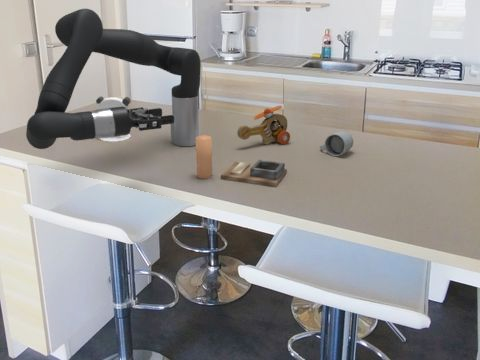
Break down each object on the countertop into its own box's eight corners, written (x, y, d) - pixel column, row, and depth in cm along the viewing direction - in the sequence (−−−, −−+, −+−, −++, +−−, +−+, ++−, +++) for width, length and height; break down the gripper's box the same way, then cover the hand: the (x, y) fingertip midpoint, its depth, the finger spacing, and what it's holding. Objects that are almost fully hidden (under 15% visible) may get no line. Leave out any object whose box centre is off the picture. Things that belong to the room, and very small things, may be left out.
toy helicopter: (292, 143, 177) (294, 106, 172) (244, 152, 166) (245, 113, 161) (278, 137, 183) (280, 101, 178) (232, 146, 173) (232, 108, 168)
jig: (220, 178, 144) (220, 167, 143) (234, 165, 155) (234, 154, 153) (275, 187, 139) (276, 175, 138) (286, 172, 149) (287, 161, 148)
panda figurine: (134, 133, 186) (132, 94, 181) (129, 142, 176) (126, 101, 170) (103, 133, 186) (99, 94, 180) (96, 142, 175) (91, 101, 170)
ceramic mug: (354, 152, 168) (355, 130, 166) (344, 158, 162) (345, 136, 159) (326, 146, 174) (327, 126, 171) (315, 152, 168) (316, 131, 165)
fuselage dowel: (194, 177, 145) (193, 138, 141) (200, 172, 149) (199, 134, 145) (208, 179, 144) (207, 140, 139) (214, 174, 148) (214, 136, 143)
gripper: (116, 114, 119) (177, 107, 127) (100, 102, 130) (157, 96, 138) (118, 143, 122) (178, 135, 129) (102, 129, 133) (158, 122, 141)
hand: (167, 115), depth 134 cm, fingers open, 8 cm apart
